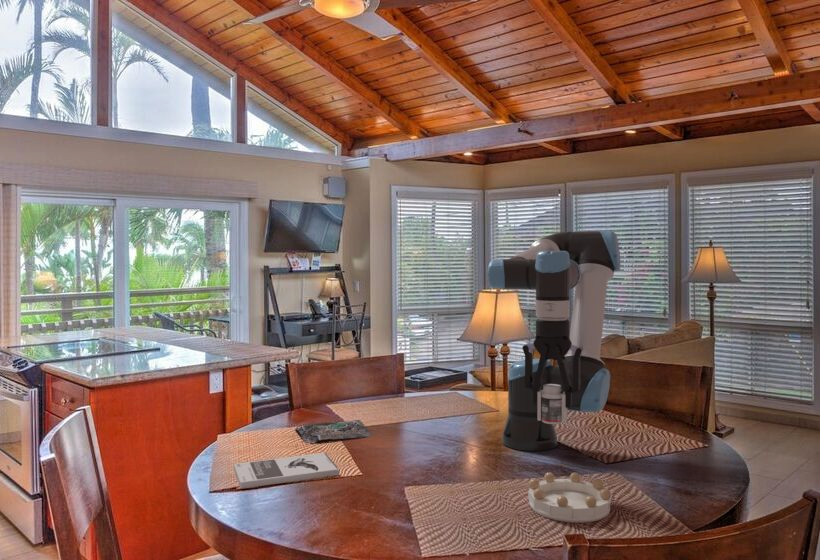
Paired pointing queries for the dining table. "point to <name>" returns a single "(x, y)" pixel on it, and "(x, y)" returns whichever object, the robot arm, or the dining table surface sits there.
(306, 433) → the terrain model
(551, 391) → the pill bottle
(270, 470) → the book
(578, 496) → the tray
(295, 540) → the dining table surface
